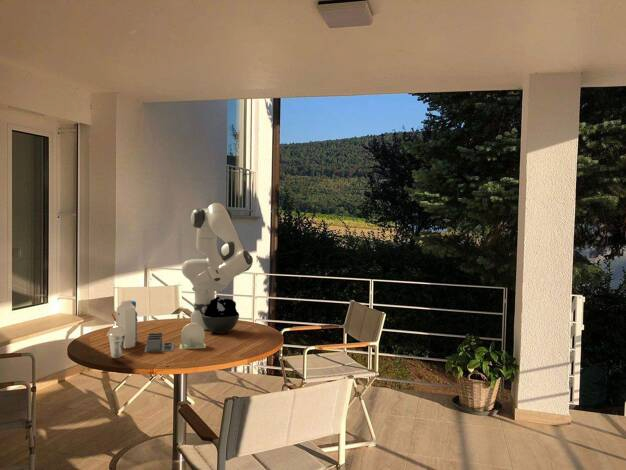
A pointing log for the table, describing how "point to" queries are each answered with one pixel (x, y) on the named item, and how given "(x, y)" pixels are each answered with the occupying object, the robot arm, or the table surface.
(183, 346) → the plate stand
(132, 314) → the milk
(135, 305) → the beverage bottle
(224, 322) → the bowl of black rocks
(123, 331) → the cup with straw
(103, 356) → the table surface
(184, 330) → the plate
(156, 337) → the dish rack
